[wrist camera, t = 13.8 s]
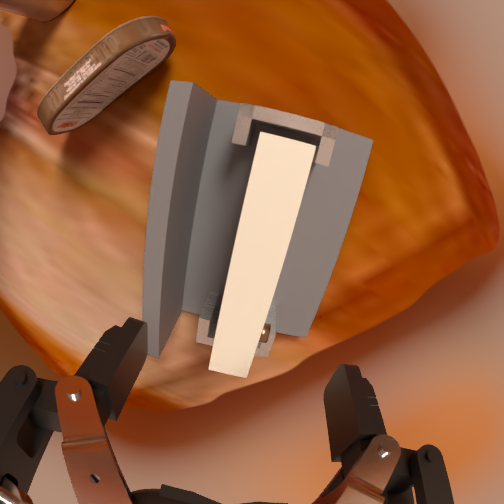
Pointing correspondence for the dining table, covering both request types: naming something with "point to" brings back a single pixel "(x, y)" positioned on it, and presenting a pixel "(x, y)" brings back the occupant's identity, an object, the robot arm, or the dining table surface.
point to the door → (260, 250)
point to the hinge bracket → (238, 212)
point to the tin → (105, 73)
